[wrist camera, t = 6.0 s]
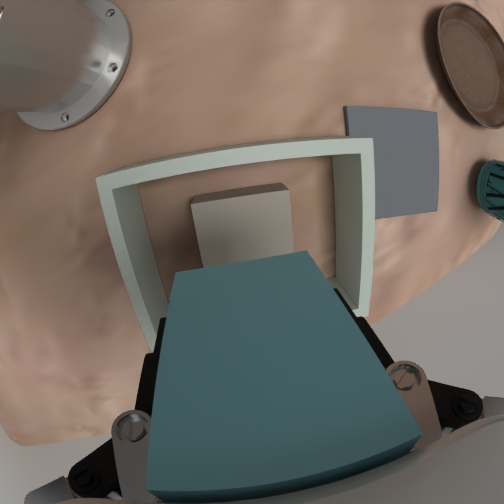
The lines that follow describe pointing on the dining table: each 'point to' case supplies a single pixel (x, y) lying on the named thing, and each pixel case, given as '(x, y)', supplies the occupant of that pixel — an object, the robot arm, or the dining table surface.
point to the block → (267, 387)
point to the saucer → (473, 62)
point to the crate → (244, 218)
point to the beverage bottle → (491, 188)
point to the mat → (400, 157)
